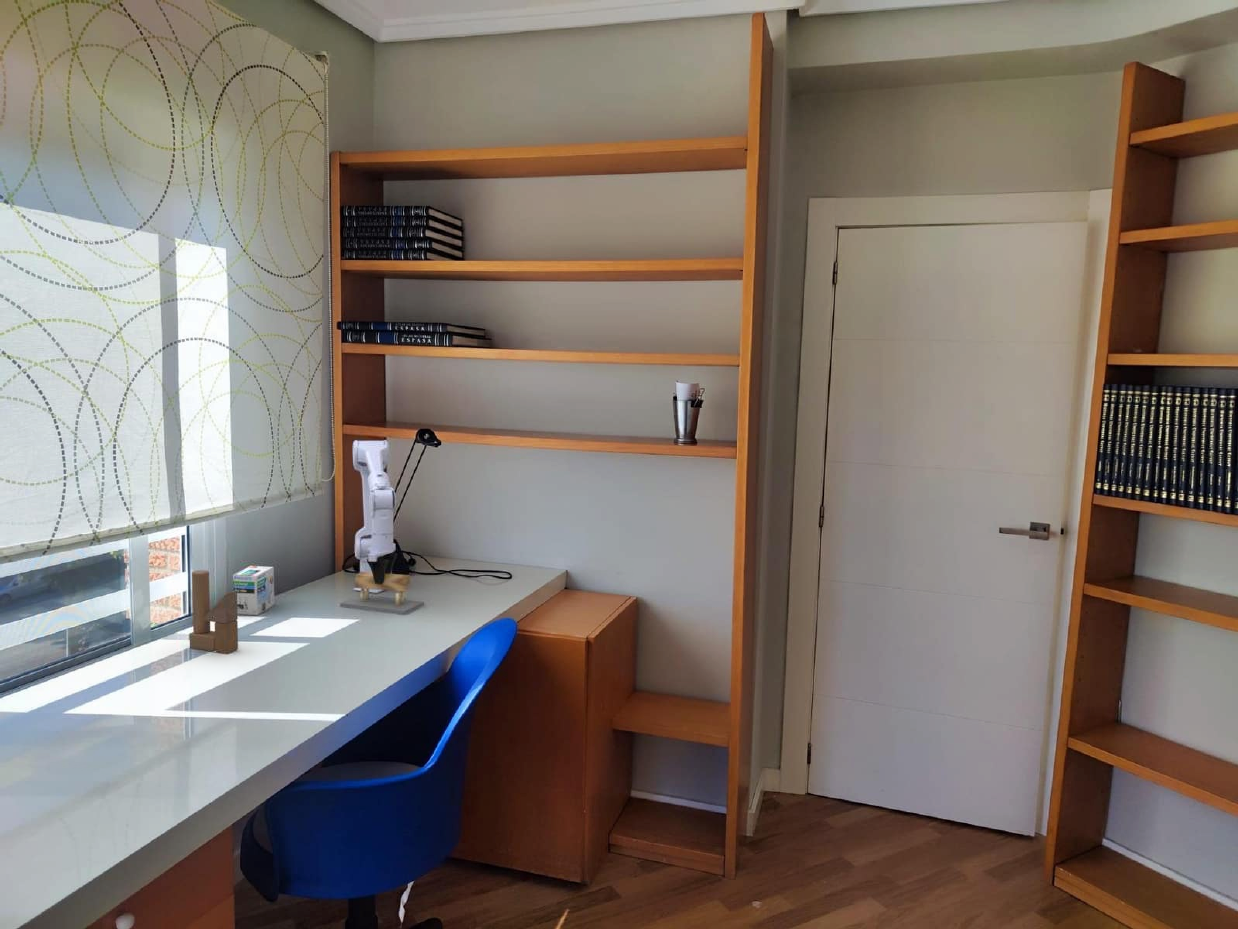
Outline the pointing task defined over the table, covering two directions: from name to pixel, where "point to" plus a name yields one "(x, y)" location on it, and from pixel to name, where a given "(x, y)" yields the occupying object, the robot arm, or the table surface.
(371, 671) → the table surface
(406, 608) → the peg stand
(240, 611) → the light bulb box
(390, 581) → the light wood bar
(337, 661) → the table surface
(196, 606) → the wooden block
